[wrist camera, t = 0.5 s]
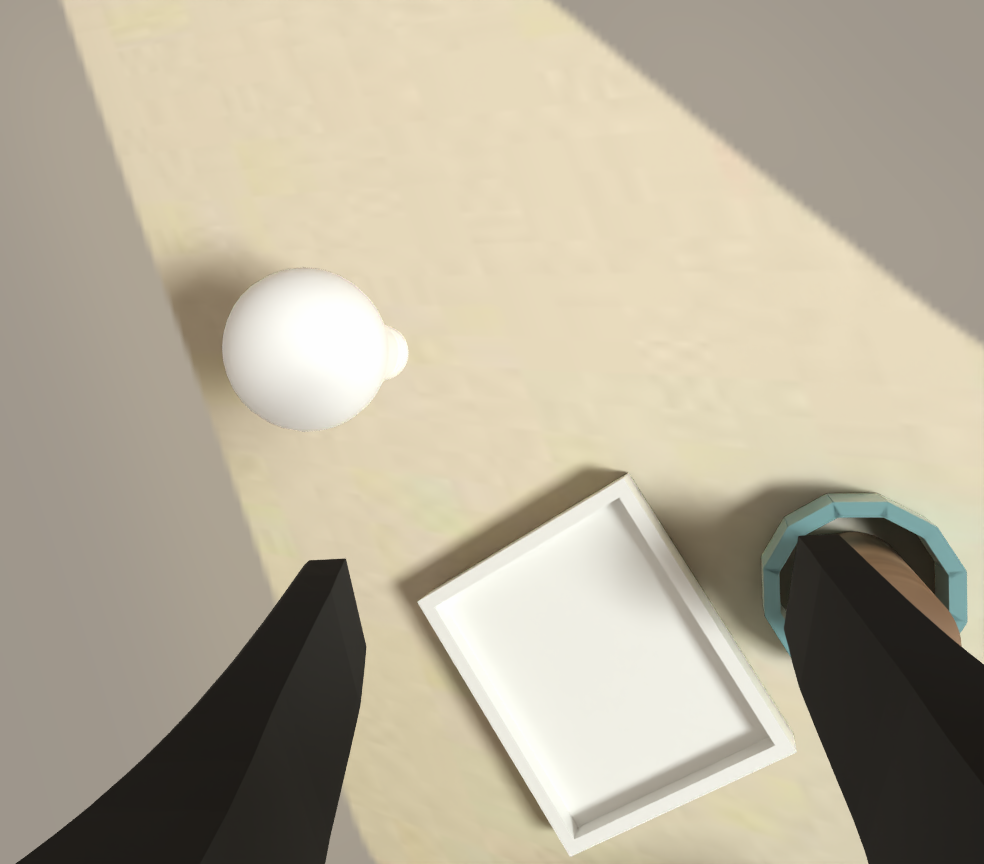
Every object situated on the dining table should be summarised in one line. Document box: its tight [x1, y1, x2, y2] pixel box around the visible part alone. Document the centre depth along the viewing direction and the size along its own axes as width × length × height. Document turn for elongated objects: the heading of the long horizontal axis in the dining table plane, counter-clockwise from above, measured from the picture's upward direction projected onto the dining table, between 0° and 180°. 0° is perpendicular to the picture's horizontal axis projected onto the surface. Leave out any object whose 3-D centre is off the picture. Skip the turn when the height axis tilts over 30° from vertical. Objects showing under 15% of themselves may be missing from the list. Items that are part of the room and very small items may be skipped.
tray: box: [418, 473, 797, 857], centre depth 36 cm, size 13×11×2 cm
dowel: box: [839, 532, 961, 646], centre depth 30 cm, size 4×4×8 cm
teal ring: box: [761, 493, 967, 657], centre depth 33 cm, size 7×7×2 cm
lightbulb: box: [222, 267, 408, 432], centre depth 33 cm, size 6×6×11 cm
